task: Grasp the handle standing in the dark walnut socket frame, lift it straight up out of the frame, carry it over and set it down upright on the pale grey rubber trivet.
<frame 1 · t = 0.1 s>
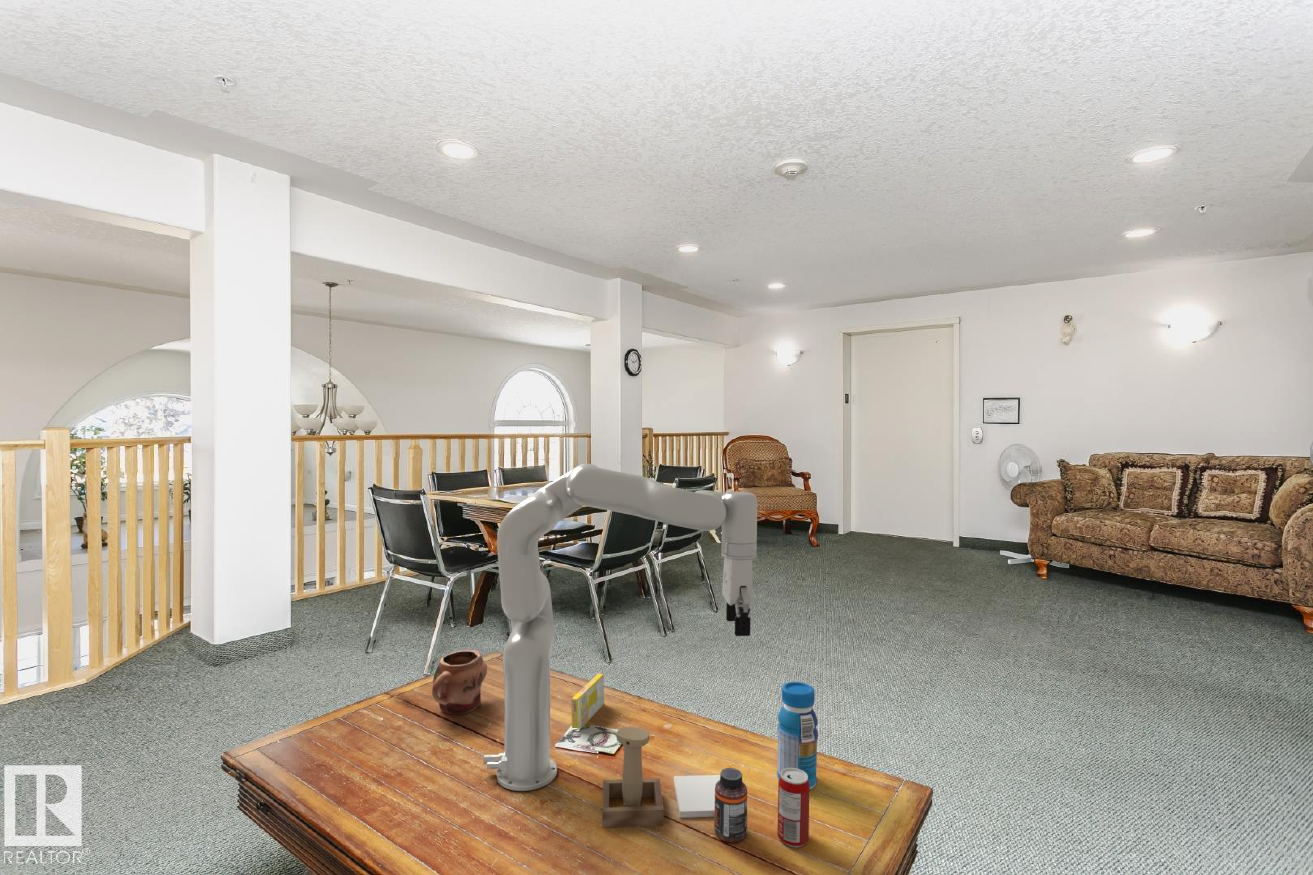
hand: (737, 627, 136), 31 cm above the table, fingers open, 9 cm apart
brown clay mug: (457, 711, 163), on the table
supplement bottle: (730, 834, 116), on the table
candy box: (588, 718, 161), on the table
beverage bottle: (796, 782, 133), on the table
handle: (632, 810, 122), resting in socket frame
trivet: (706, 797, 126), on the table
soda can: (792, 839, 114), on the table
socket frame: (632, 809, 122), on the table
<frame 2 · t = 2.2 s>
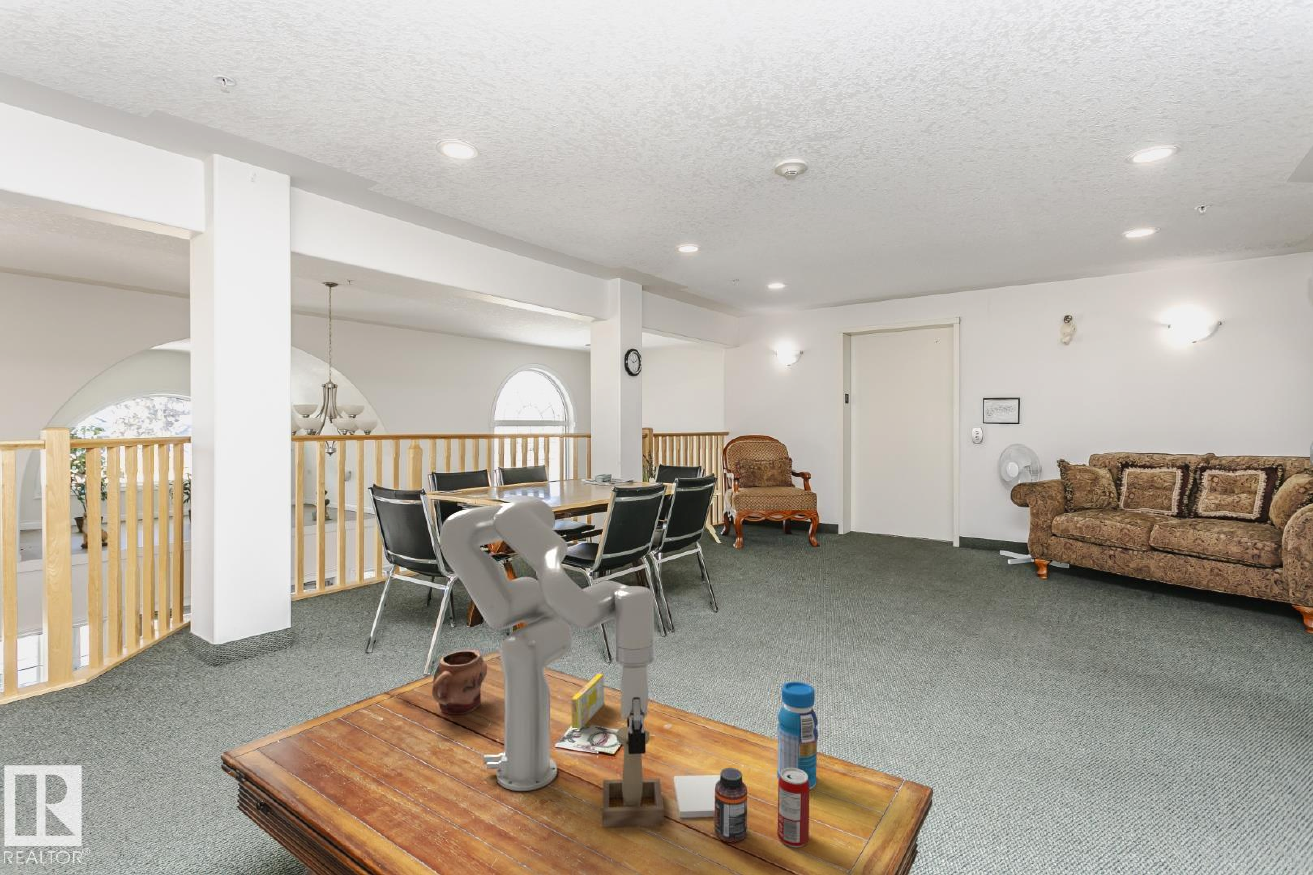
hand: (636, 740, 122), 14 cm above the table, fingers open, 9 cm apart
nothing on the table moved.
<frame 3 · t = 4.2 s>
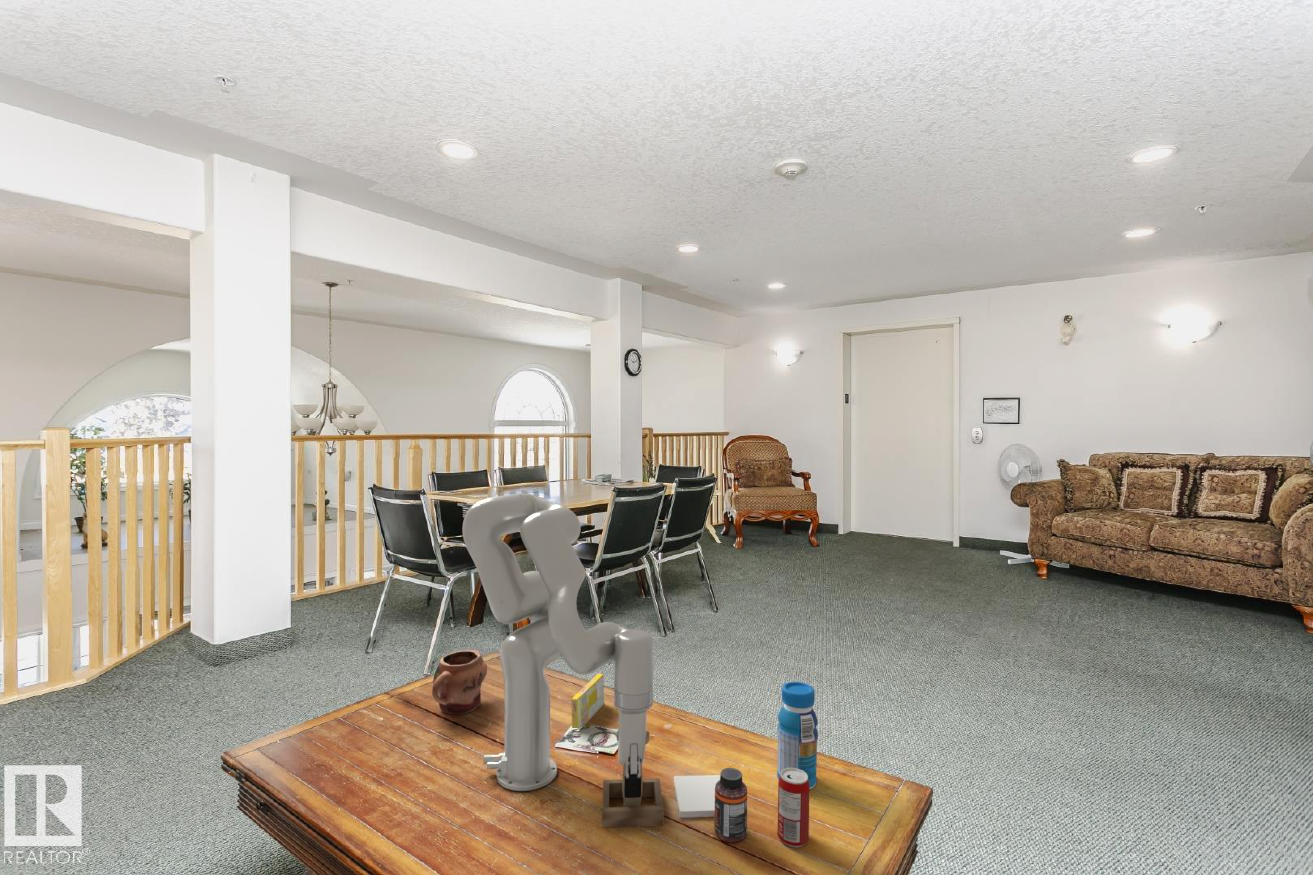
hand: (632, 788, 122), 4 cm above the table, fingers closed on handle, 4 cm apart
handle: (632, 810, 122), resting in socket frame, touching gripper
everything else where it was.
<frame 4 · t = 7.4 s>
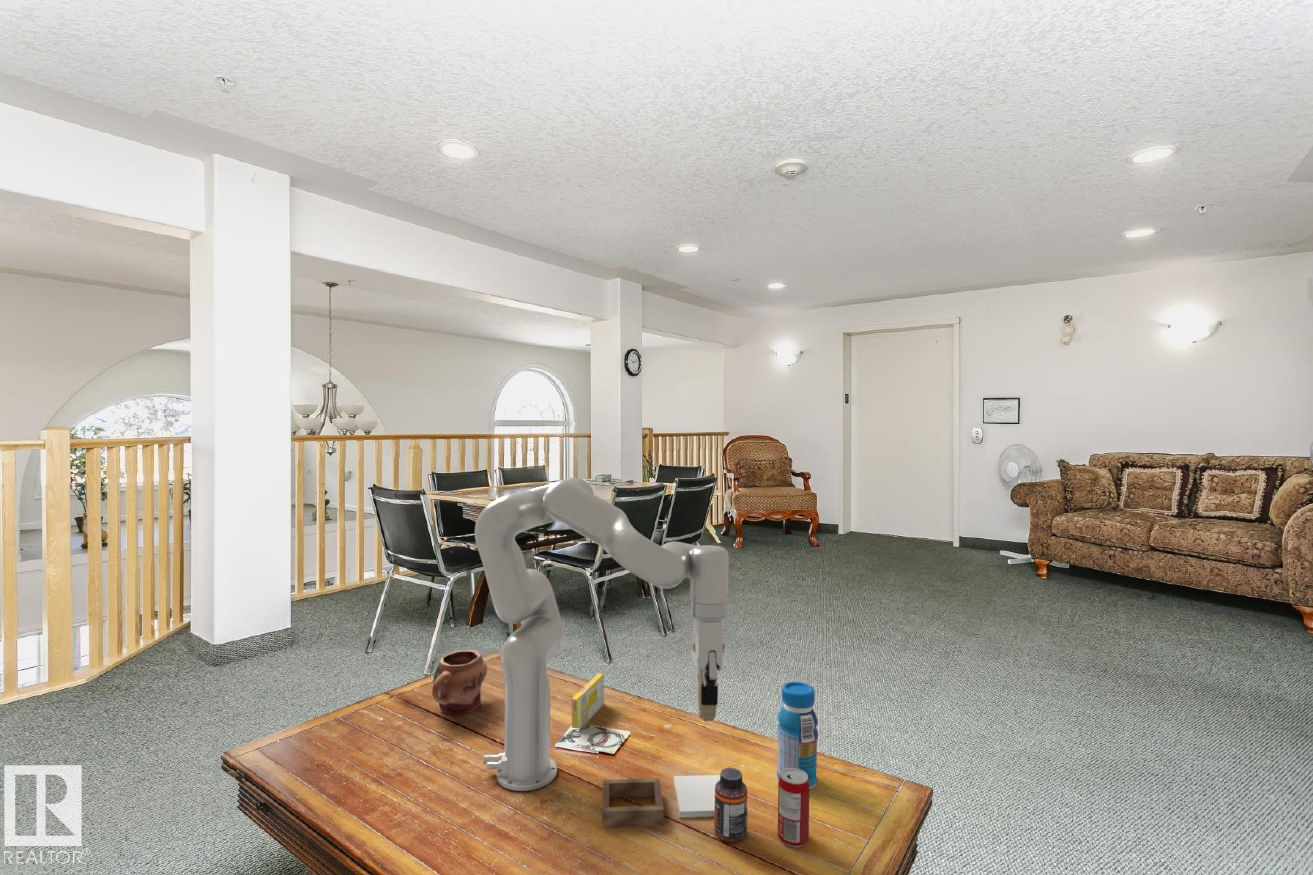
hand: (707, 698, 126), 20 cm above the table, fingers closed on handle, 4 cm apart
handle: (707, 719, 126), point 16 cm above the table, touching gripper
everything else where it was.
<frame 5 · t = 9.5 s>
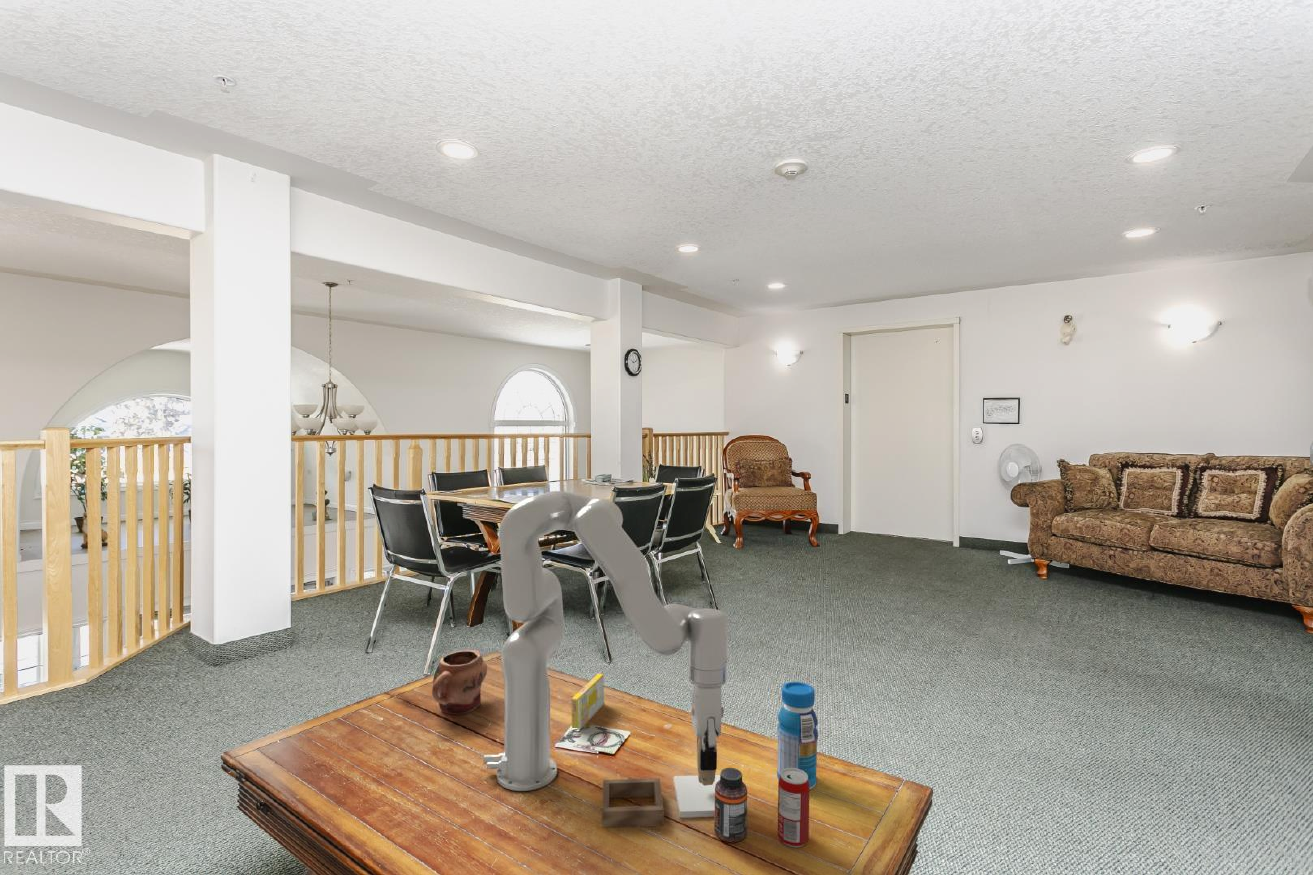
hand: (706, 761, 126), 7 cm above the table, fingers closed on handle, 4 cm apart
handle: (706, 782, 126), point 3 cm above the table, touching gripper
everything else where it was.
when the fingers open (6 cm above the table, at t = 10.5 s): handle drops 1 cm, resting on trivet.
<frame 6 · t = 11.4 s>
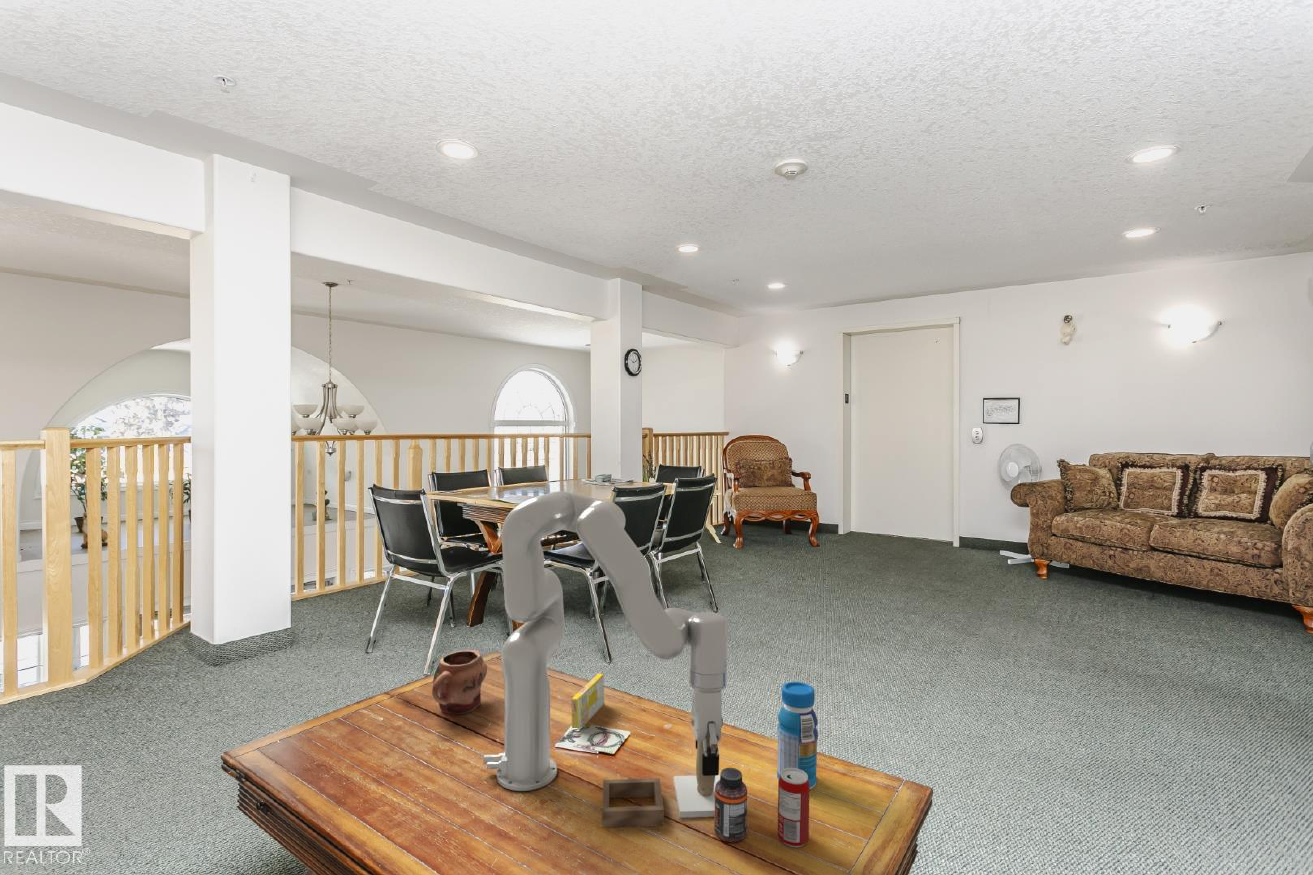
hand: (706, 761, 126), 8 cm above the table, fingers open, 9 cm apart
handle: (705, 792, 126), point 1 cm above the table, touching trivet
everything else where it was.
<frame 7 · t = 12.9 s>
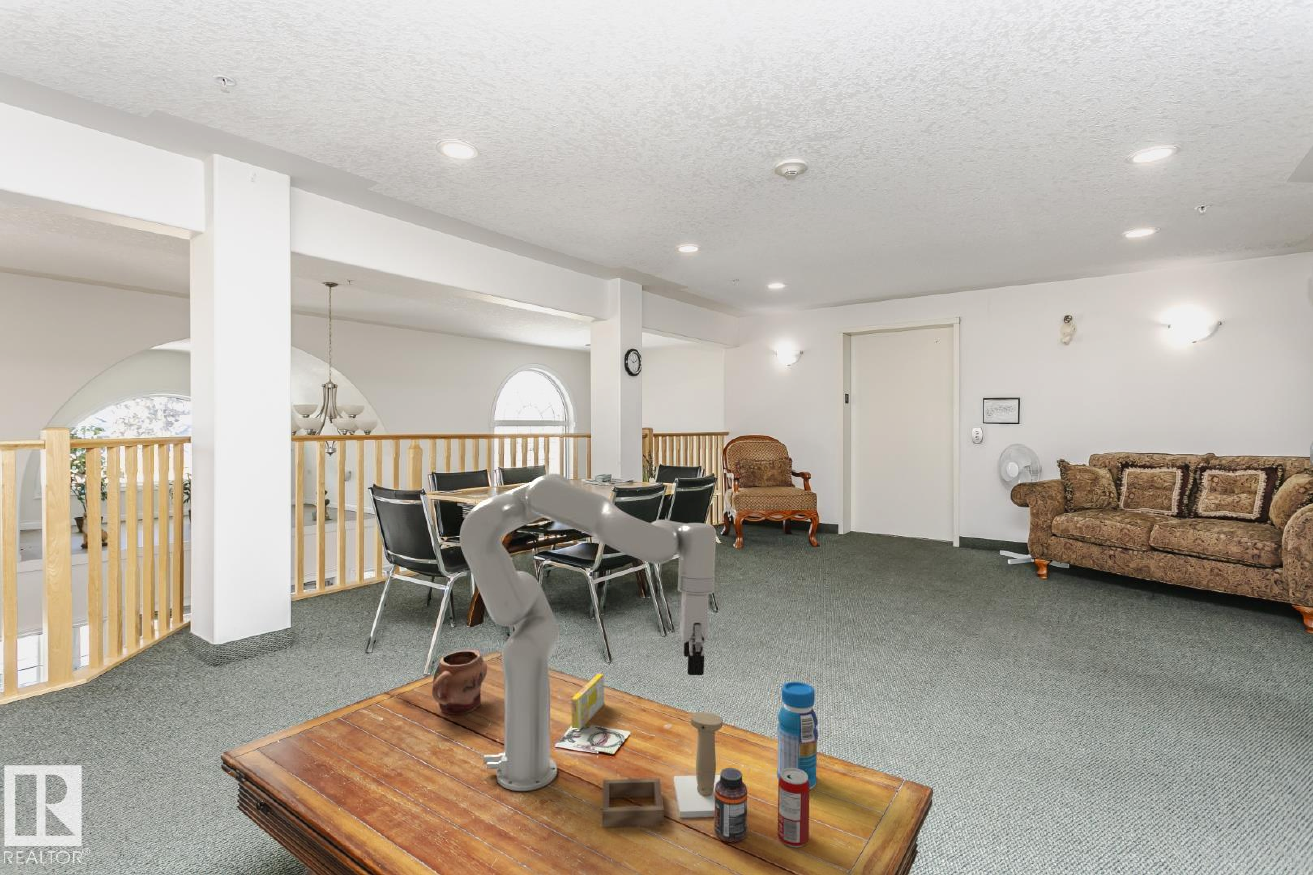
hand: (693, 665, 131), 25 cm above the table, fingers open, 9 cm apart
nothing on the table moved.
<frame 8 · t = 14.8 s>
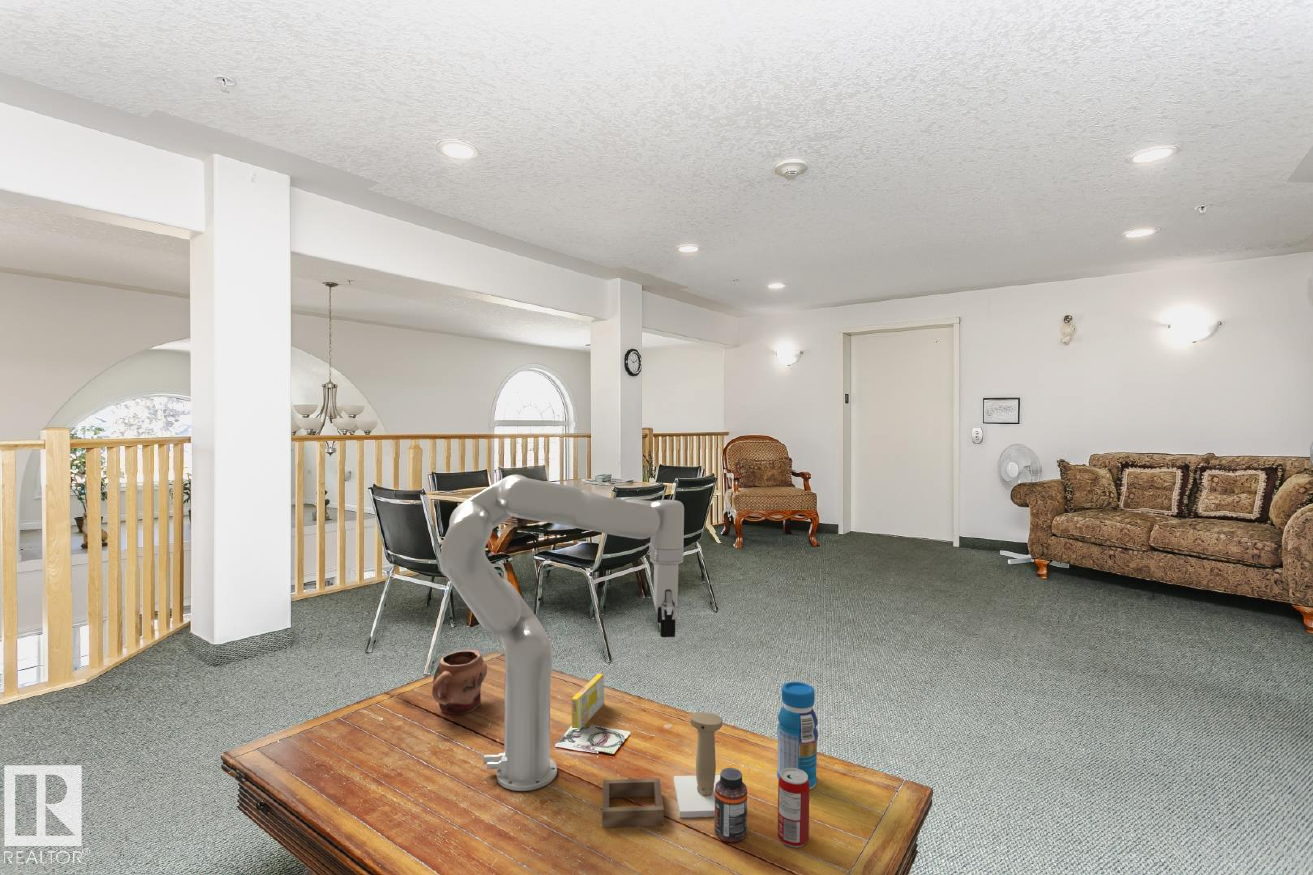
hand: (665, 629, 143), 28 cm above the table, fingers open, 9 cm apart
nothing on the table moved.
at the end: handle 0.2 cm from the trivet (horizontally); handle tilted 0°; the gripper is holding nothing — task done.
